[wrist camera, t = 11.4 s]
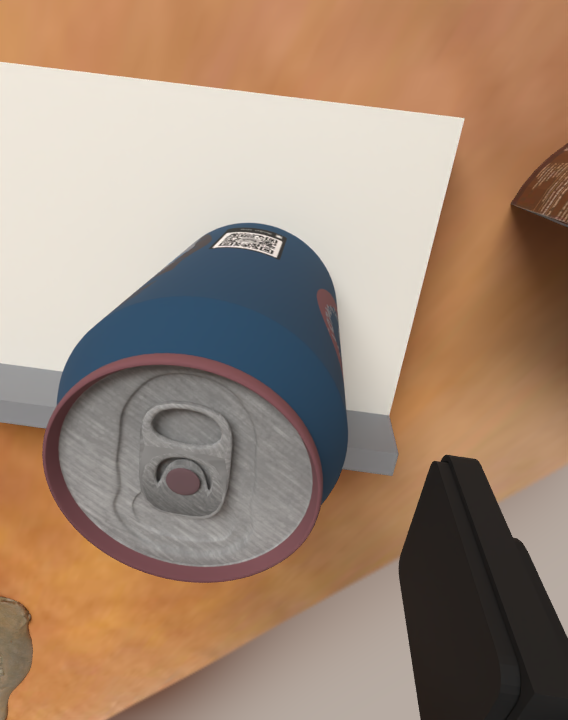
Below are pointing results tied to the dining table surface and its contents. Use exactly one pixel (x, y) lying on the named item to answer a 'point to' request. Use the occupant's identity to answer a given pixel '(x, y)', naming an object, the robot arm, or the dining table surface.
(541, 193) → the food container
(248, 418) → the soda can
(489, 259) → the dining table surface
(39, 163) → the display shelf
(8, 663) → the jawbone
